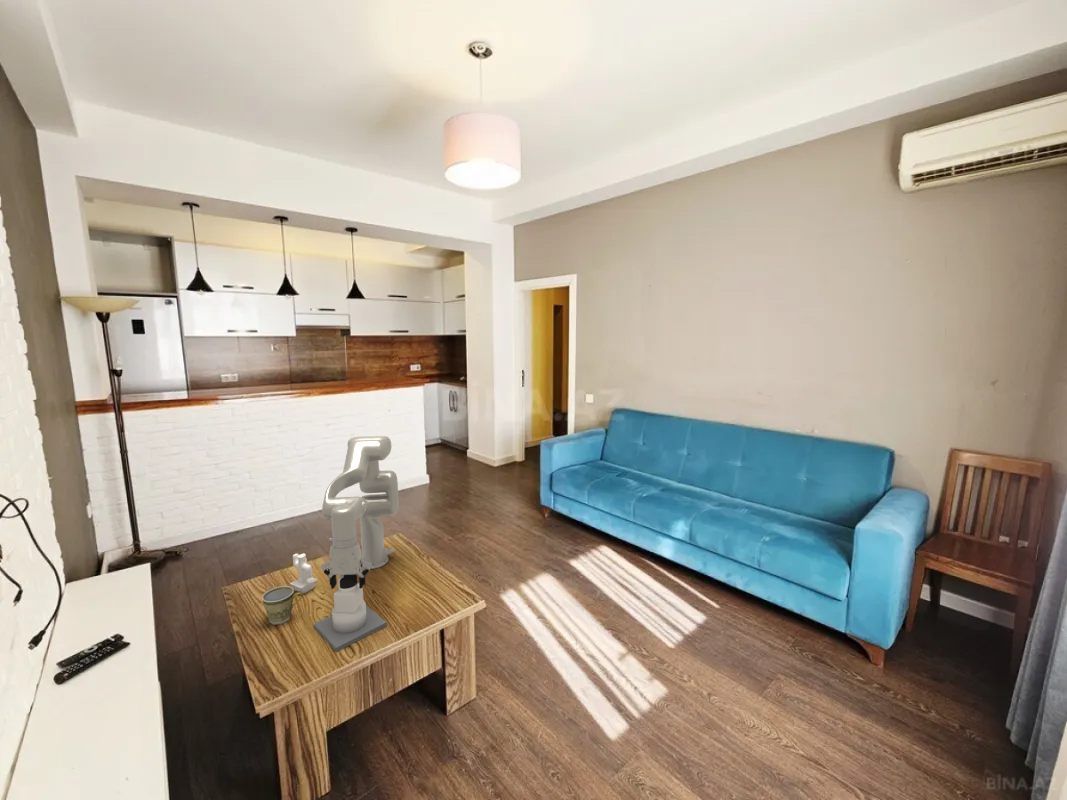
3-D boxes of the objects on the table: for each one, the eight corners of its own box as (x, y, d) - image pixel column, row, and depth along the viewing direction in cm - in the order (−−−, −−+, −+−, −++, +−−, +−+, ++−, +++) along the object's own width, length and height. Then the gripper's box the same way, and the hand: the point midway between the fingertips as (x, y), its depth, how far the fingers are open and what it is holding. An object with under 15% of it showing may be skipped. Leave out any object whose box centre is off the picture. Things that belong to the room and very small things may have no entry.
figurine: (303, 597, 177) (300, 561, 175) (288, 591, 182) (285, 556, 179) (320, 588, 184) (317, 553, 181) (305, 582, 188) (302, 548, 186)
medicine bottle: (363, 601, 162) (362, 570, 160) (354, 613, 155) (352, 581, 153) (344, 600, 163) (342, 569, 161) (334, 612, 156) (332, 580, 154)
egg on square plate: (362, 605, 173) (361, 587, 171) (386, 626, 160) (385, 606, 159) (313, 627, 159) (312, 608, 158) (336, 652, 147) (334, 631, 146)
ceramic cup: (260, 630, 158) (258, 603, 157) (269, 612, 168) (266, 588, 166) (301, 623, 162) (299, 598, 160) (307, 607, 171) (305, 582, 170)
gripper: (314, 546, 151) (318, 593, 154) (366, 545, 152) (369, 592, 155) (323, 536, 159) (327, 580, 161) (373, 535, 159) (376, 580, 162)
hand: (348, 586), depth 158 cm, fingers open, 9 cm apart
